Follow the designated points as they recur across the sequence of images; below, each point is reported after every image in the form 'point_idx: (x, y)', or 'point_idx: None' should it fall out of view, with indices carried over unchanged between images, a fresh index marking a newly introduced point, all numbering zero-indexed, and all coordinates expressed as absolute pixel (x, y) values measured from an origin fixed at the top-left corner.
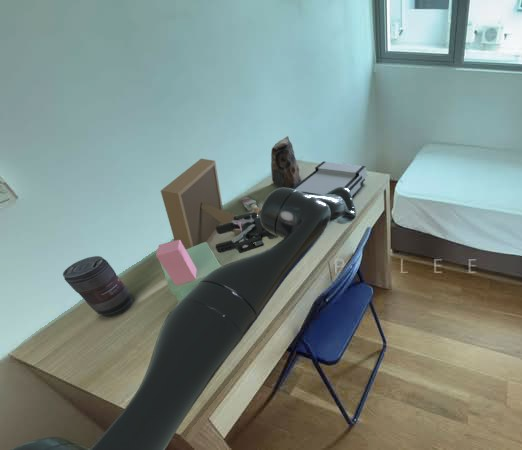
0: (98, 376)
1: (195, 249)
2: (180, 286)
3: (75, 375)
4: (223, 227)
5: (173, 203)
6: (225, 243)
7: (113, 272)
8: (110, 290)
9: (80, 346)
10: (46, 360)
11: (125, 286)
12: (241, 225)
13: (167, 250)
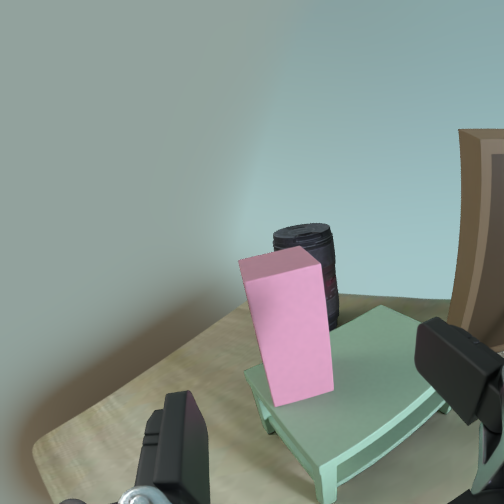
0: (174, 361)
1: None
2: (256, 382)
3: (193, 342)
4: (445, 355)
5: (472, 177)
6: (158, 441)
7: None
8: None
9: (244, 326)
10: (236, 312)
11: (326, 304)
12: (500, 467)
13: (253, 266)
